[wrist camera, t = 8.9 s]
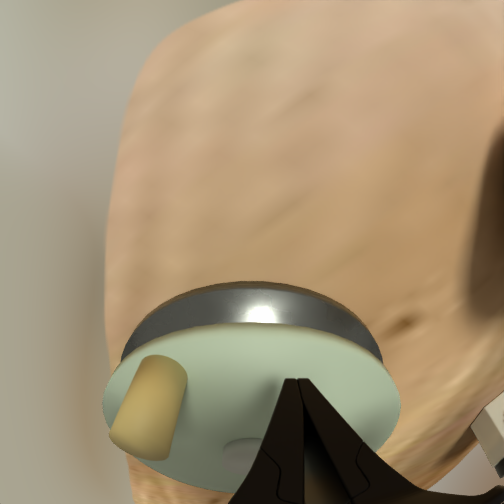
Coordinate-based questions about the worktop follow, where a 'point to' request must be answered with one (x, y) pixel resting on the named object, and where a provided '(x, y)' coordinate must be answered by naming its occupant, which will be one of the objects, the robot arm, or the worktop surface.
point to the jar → (492, 432)
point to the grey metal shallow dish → (252, 312)
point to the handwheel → (236, 396)
